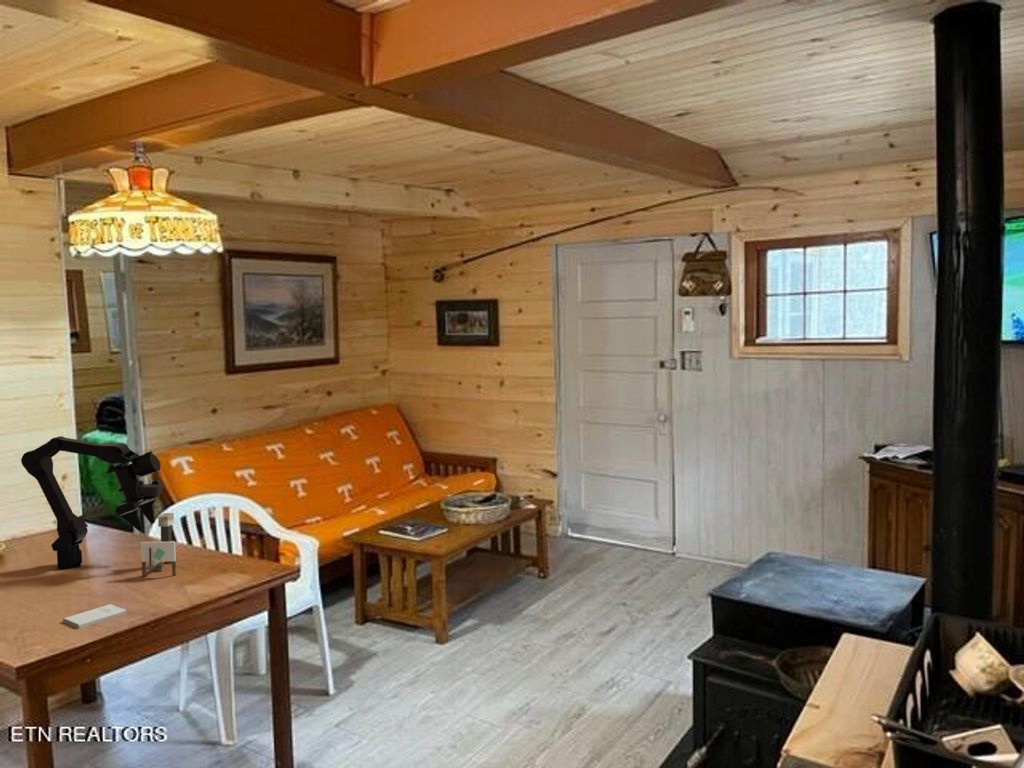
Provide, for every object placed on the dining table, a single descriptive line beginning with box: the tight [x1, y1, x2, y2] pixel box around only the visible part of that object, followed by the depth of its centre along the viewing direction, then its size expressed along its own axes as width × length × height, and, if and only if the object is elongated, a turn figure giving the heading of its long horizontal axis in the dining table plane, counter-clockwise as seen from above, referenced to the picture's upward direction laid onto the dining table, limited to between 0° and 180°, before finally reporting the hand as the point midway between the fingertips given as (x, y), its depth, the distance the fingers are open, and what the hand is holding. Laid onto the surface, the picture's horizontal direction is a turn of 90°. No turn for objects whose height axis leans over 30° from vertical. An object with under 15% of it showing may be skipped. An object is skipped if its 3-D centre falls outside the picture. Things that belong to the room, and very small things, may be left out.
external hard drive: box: [62, 603, 127, 630], centre depth 209 cm, size 2×8×12 cm
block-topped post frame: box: [146, 512, 175, 571], centre depth 248 cm, size 3×14×14 cm, turn 1°
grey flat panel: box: [140, 541, 176, 563], centre depth 242 cm, size 10×1×6 cm, turn 91°
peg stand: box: [141, 561, 177, 577], centre depth 249 cm, size 10×14×4 cm
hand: (147, 526), depth 252 cm, fingers open, 9 cm apart
